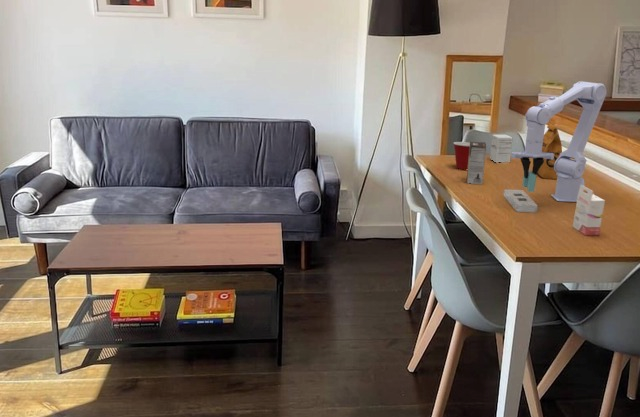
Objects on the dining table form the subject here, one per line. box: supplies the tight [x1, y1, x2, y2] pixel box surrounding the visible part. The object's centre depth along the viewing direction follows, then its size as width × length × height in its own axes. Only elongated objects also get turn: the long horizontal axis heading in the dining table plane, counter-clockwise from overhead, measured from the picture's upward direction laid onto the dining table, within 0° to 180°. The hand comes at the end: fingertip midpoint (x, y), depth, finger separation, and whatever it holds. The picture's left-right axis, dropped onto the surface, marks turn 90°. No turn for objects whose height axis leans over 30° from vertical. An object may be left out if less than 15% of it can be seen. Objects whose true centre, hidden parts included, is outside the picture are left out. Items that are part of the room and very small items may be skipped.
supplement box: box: [489, 134, 514, 163], centre depth 280 cm, size 7×7×13 cm
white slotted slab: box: [503, 189, 539, 213], centre depth 217 cm, size 7×20×2 cm, turn 176°
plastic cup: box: [452, 141, 470, 170], centre depth 266 cm, size 11×11×12 cm
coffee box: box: [466, 141, 487, 185], centre depth 244 cm, size 9×6×16 cm
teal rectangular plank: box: [521, 169, 537, 193], centre depth 213 cm, size 2×8×6 cm, turn 177°
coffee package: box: [537, 123, 563, 180], centre depth 254 cm, size 10×12×22 cm
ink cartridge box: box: [572, 185, 606, 236], centre depth 188 cm, size 9×5×15 cm, turn 5°
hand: (529, 177), depth 213 cm, fingers closed on teal rectangular plank, 2 cm apart
